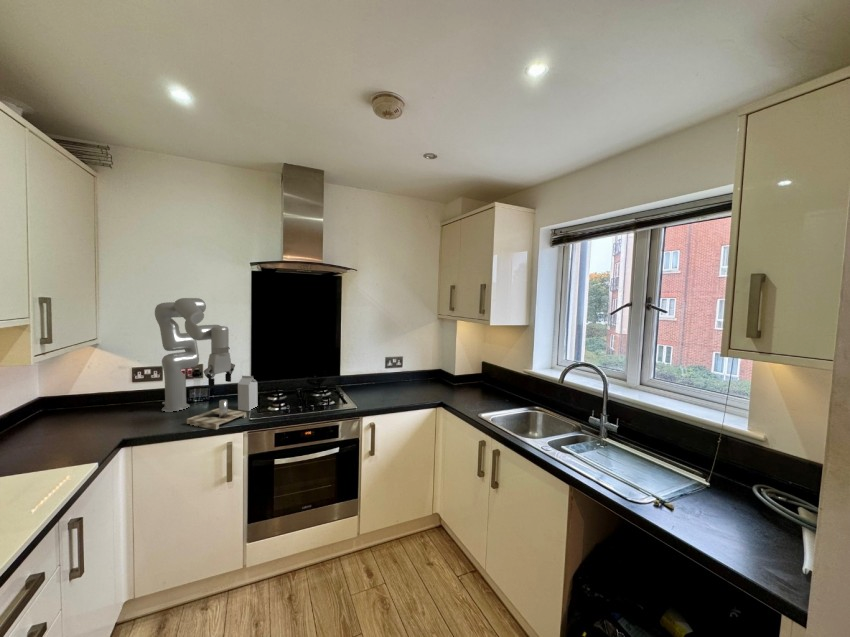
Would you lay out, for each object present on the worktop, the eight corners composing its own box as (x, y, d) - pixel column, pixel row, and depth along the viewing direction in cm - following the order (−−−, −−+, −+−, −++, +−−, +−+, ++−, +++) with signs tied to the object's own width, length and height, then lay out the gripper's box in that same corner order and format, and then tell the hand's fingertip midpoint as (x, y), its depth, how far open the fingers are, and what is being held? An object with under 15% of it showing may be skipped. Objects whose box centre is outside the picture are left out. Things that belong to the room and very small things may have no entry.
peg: (213, 423, 170) (213, 401, 170) (224, 419, 176) (223, 398, 175) (223, 424, 168) (222, 402, 168) (233, 420, 174) (232, 399, 174)
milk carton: (249, 411, 188) (248, 377, 187) (238, 410, 190) (237, 377, 189) (257, 407, 195) (257, 375, 194) (247, 406, 197) (246, 374, 196)
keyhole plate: (186, 424, 168) (186, 418, 168) (218, 413, 185) (218, 407, 185) (216, 429, 162) (216, 423, 162) (246, 417, 179) (246, 411, 179)
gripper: (228, 347, 181) (228, 379, 182) (198, 352, 164) (198, 387, 165) (239, 348, 178) (239, 380, 180) (210, 353, 162) (210, 388, 163)
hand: (220, 383), depth 172 cm, fingers open, 9 cm apart
